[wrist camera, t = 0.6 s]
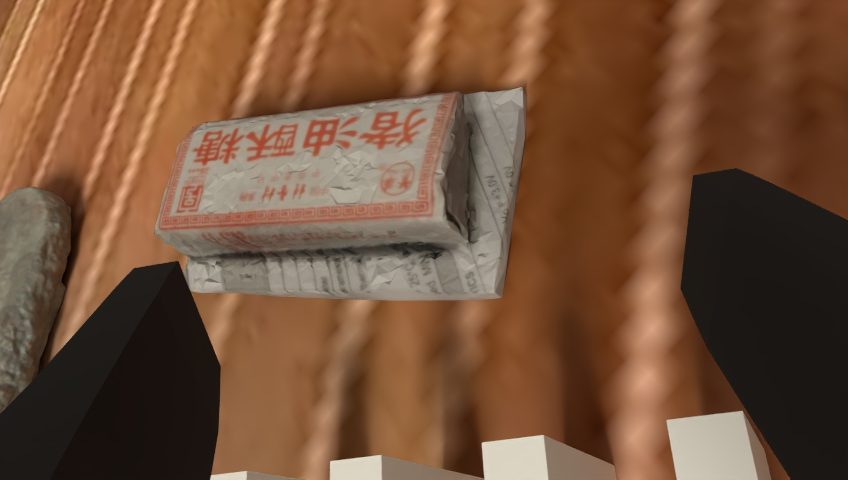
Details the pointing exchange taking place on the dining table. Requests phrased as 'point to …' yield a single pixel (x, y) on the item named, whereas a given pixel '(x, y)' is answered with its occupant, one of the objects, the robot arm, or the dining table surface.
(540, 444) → the domino
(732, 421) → the cream white flat block
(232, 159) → the packaged product
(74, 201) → the dining table surface
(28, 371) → the long grey stone
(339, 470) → the domino
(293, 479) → the domino
